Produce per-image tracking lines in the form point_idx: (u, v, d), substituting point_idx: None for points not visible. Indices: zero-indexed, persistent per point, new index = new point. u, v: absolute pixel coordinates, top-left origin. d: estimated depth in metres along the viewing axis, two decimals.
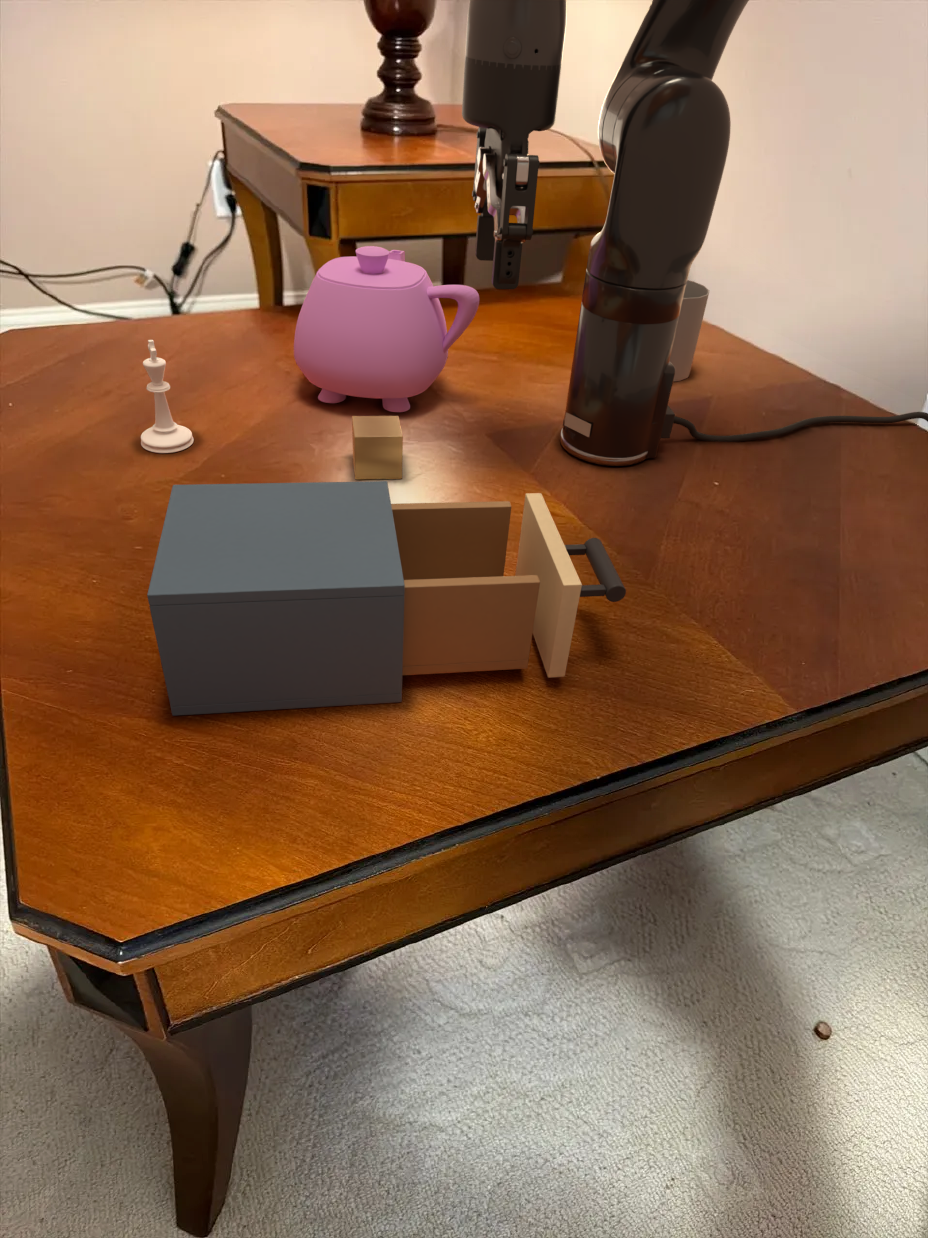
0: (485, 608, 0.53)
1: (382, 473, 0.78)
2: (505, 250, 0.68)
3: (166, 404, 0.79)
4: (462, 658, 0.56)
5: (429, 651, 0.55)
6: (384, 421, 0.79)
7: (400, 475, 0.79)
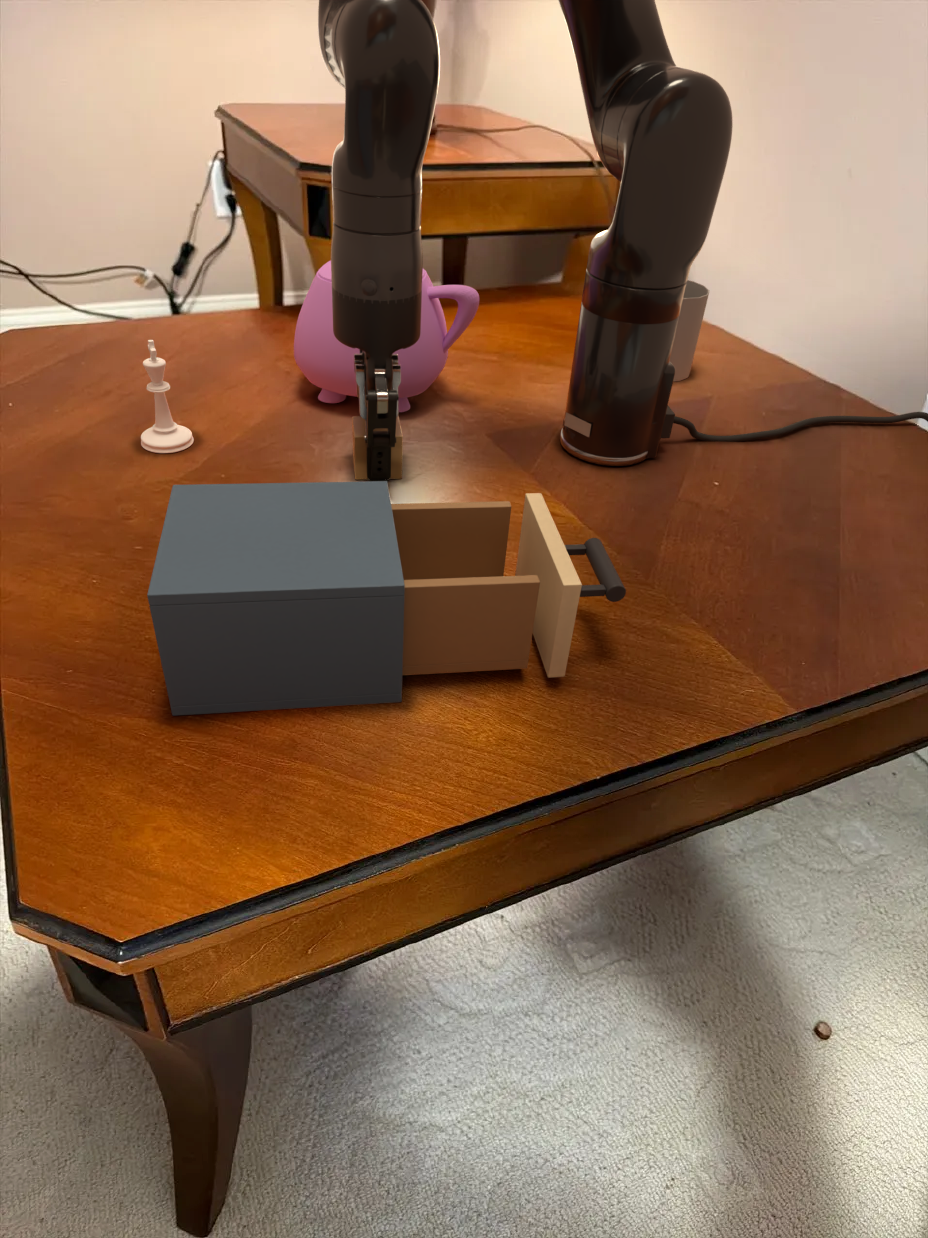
0: (485, 608, 0.53)
1: None
2: (374, 452, 0.75)
3: (166, 404, 0.79)
4: (462, 658, 0.56)
5: (429, 651, 0.55)
6: None
7: (400, 475, 0.79)
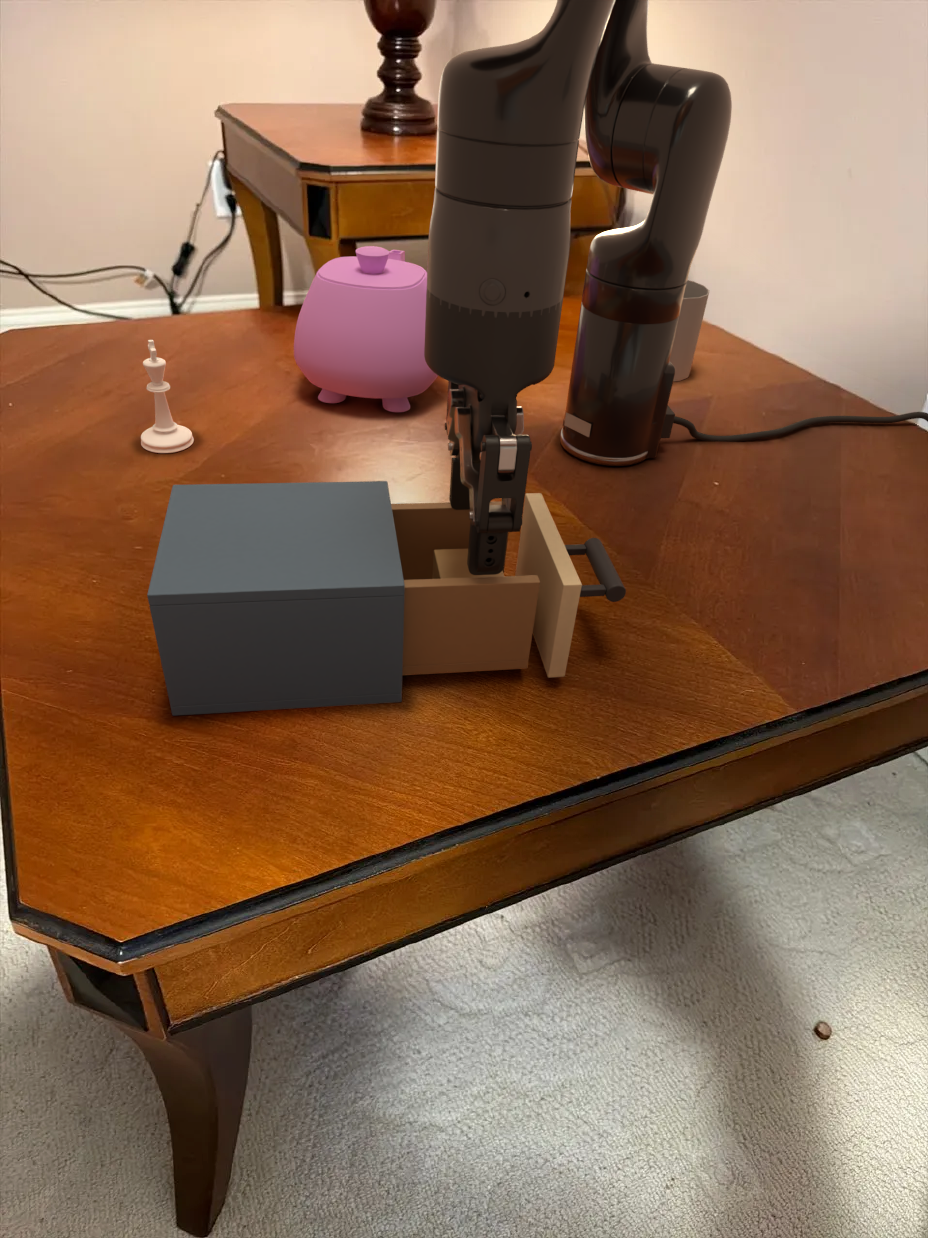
0: (485, 608, 0.53)
1: None
2: (484, 537, 0.50)
3: (166, 404, 0.79)
4: (462, 658, 0.56)
5: (429, 651, 0.55)
6: None
7: None
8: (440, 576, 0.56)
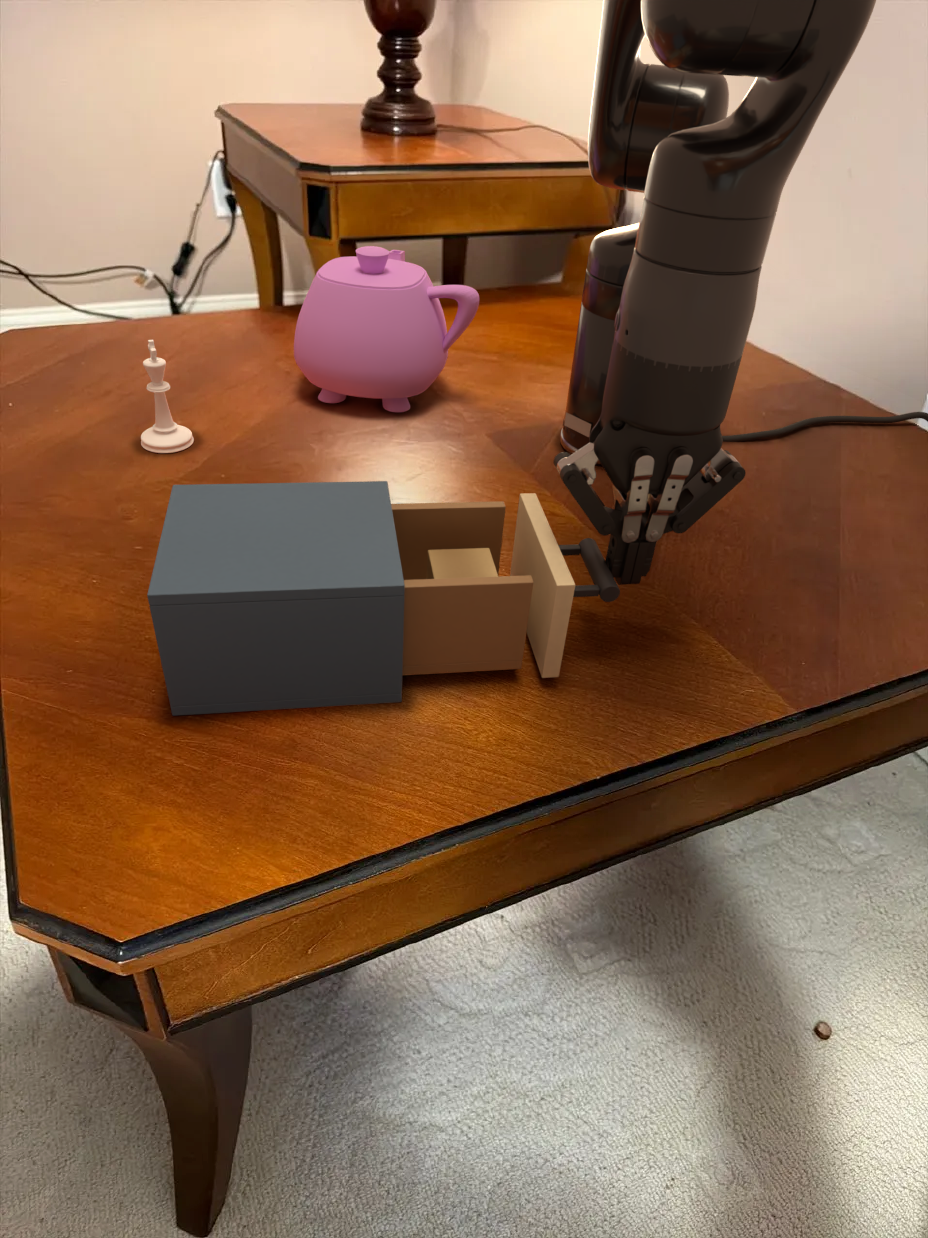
0: (478, 608, 0.53)
1: None
2: (611, 536, 0.58)
3: (166, 404, 0.79)
4: (455, 659, 0.56)
5: (422, 651, 0.55)
6: (472, 558, 0.58)
7: None
8: (434, 576, 0.56)
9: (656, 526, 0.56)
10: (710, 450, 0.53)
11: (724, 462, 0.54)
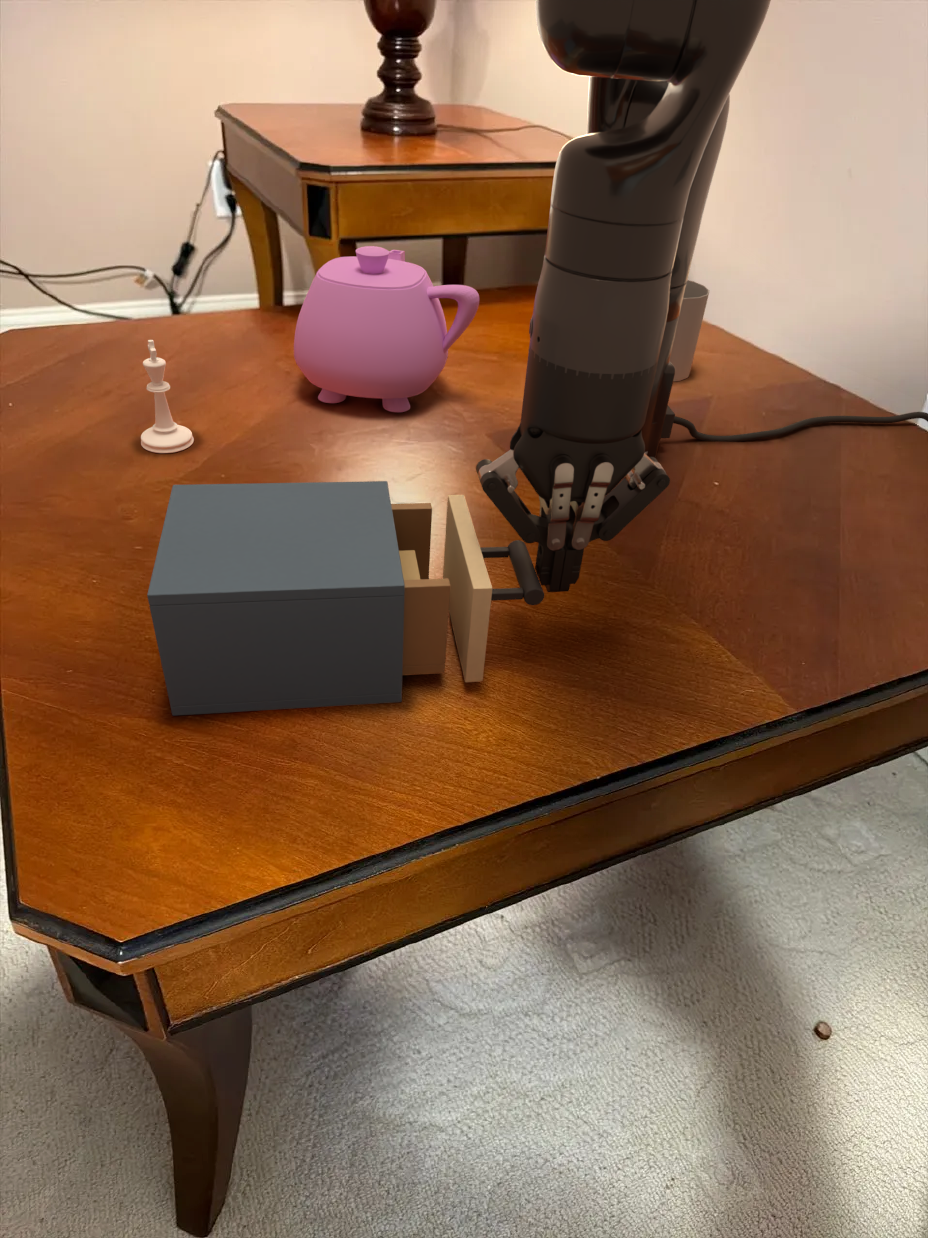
0: None
1: None
2: (539, 544, 0.57)
3: (166, 404, 0.79)
4: None
5: None
6: None
7: None
8: None
9: (582, 534, 0.55)
10: (632, 457, 0.52)
11: (648, 469, 0.54)
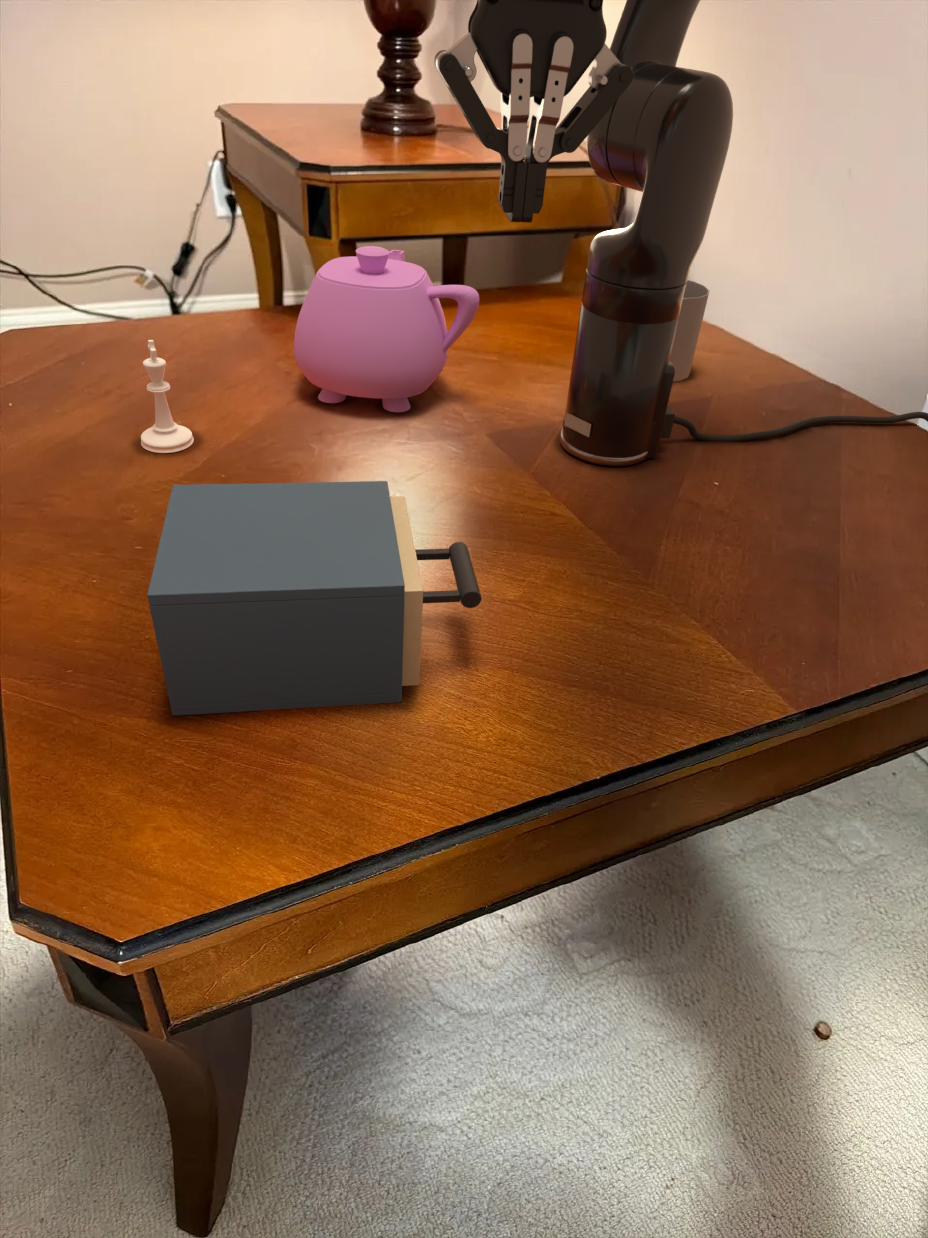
0: None
1: None
2: (501, 164, 0.56)
3: (166, 404, 0.79)
4: None
5: None
6: None
7: None
8: None
9: (544, 141, 0.54)
10: (593, 40, 0.51)
11: (611, 64, 0.53)
